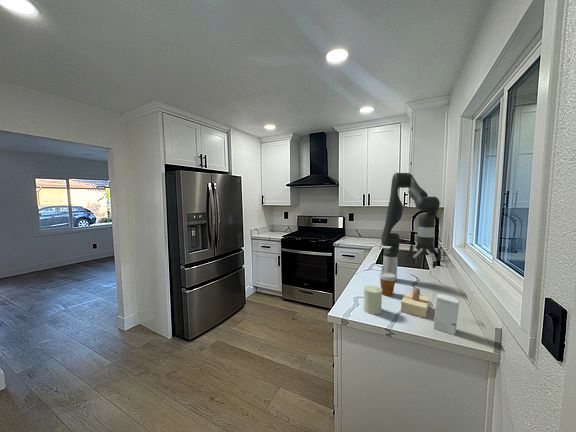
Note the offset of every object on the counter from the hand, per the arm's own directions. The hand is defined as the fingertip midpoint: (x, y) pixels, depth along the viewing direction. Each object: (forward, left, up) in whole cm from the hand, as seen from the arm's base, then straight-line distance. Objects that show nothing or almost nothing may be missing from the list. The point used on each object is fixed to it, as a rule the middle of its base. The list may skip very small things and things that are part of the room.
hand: (424, 266), depth 124 cm
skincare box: (+11, -15, -23) cm, 30 cm away
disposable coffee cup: (-20, +8, -23) cm, 31 cm away
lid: (-3, -3, -19) cm, 19 cm away
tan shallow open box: (-3, -3, -23) cm, 23 cm away
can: (-21, -17, -23) cm, 36 cm away
